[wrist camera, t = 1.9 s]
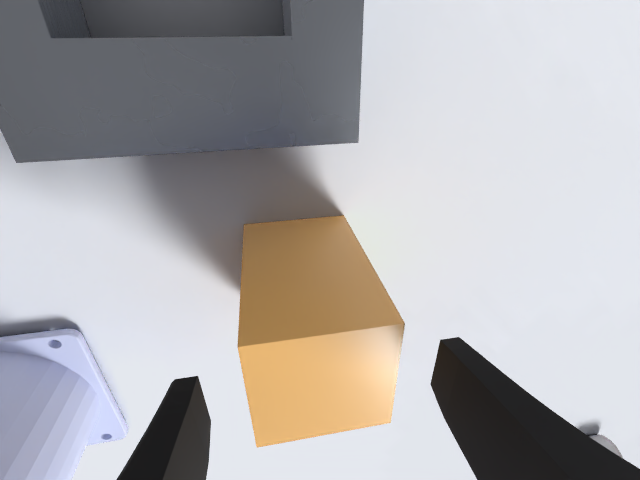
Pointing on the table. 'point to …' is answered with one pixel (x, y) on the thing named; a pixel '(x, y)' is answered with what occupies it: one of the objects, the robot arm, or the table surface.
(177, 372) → the table surface
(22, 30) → the square hole plate
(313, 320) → the square block
